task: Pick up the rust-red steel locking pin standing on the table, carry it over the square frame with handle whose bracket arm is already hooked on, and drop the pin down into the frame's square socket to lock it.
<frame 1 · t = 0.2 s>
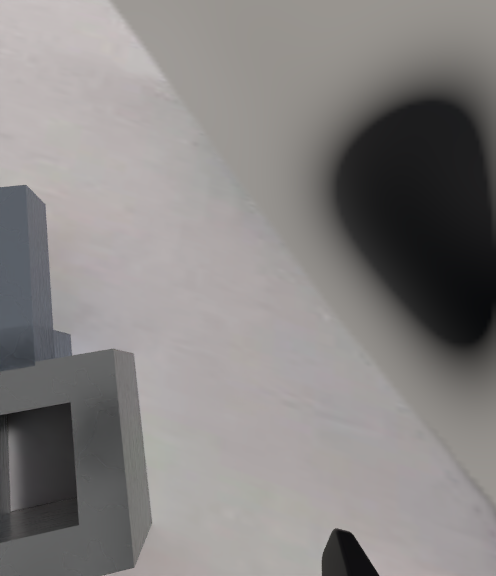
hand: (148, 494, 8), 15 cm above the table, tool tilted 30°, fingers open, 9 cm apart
square frame with handle: (57, 451, 22), on the table
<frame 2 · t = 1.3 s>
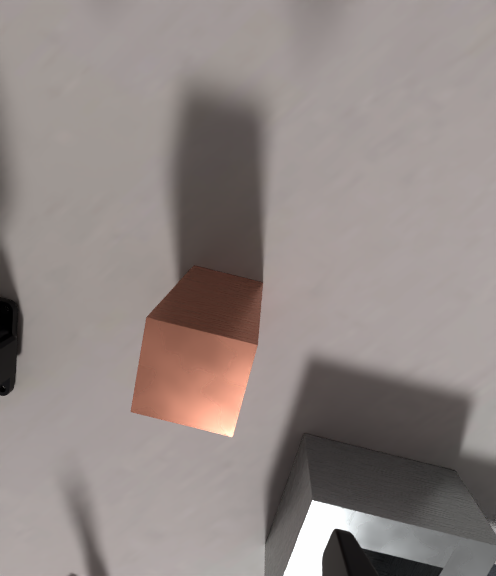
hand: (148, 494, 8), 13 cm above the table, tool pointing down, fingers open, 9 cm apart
locking pin: (220, 306, 21), on the table
square frame with handle: (354, 510, 24), on the table
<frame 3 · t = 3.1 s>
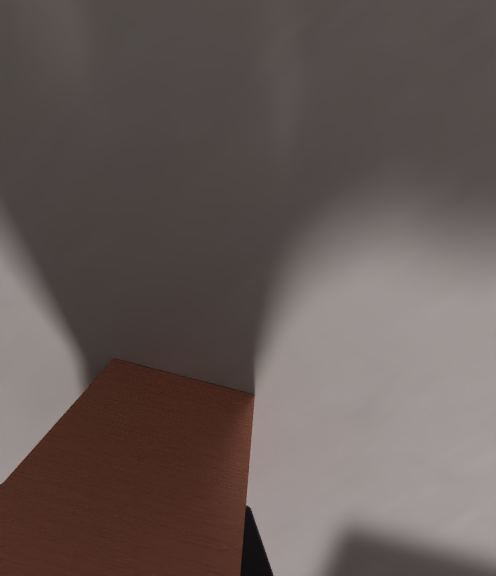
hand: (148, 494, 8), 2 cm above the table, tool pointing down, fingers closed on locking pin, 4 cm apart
locking pin: (171, 435, 10), on the table, touching gripper
when the fingers open (6 cm above the table, at t = 6.8 s): locking pin drops 4 cm, resting in square frame with handle.
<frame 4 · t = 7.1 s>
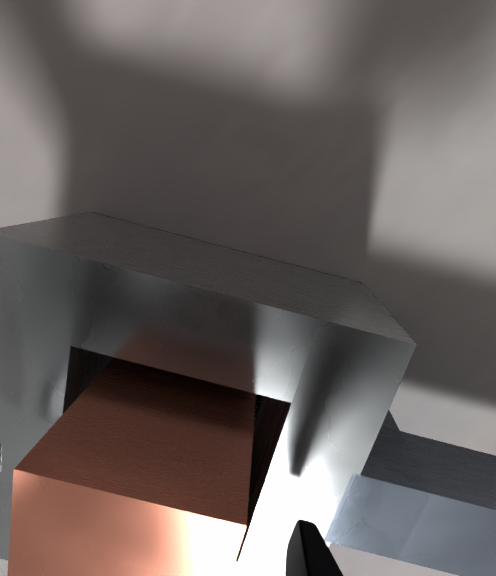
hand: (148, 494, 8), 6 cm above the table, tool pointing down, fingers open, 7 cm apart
locking pin: (199, 365, 14), resting in square frame with handle
square frame with handle: (198, 368, 14), on the table
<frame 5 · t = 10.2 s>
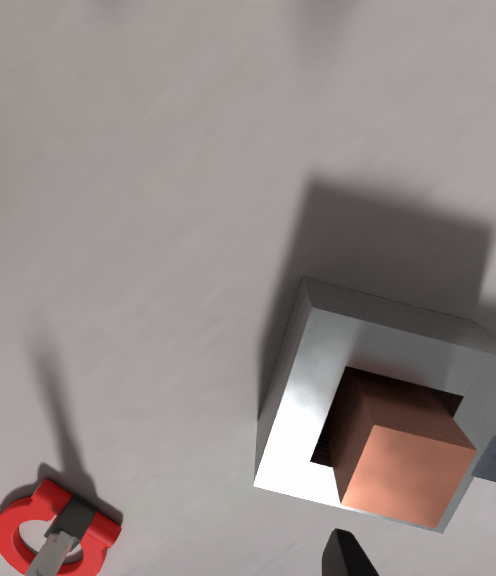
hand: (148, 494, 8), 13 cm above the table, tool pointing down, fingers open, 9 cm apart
tow hook: (59, 530, 27), on the table
locking pin: (358, 373, 22), resting in square frame with handle
square frame with handle: (358, 375, 22), on the table
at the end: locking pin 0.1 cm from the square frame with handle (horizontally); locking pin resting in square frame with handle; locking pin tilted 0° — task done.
